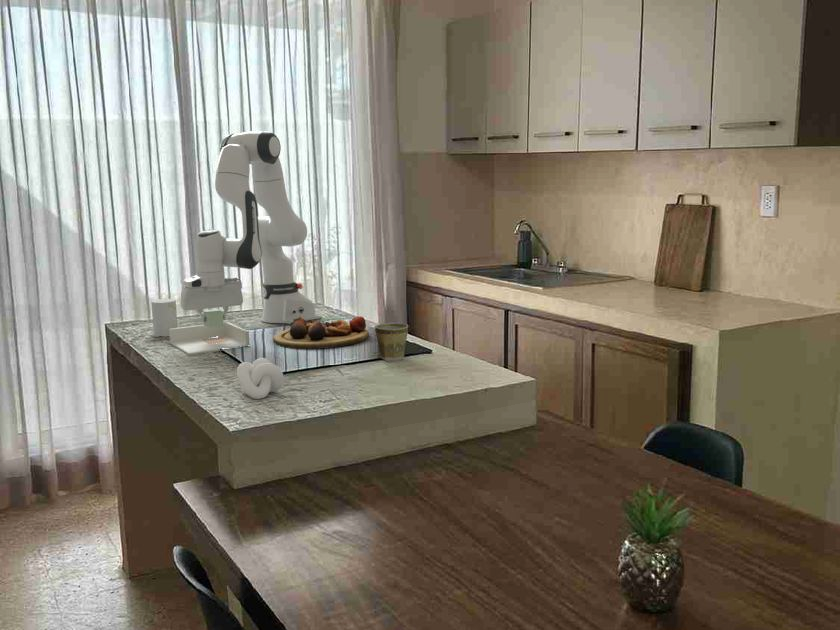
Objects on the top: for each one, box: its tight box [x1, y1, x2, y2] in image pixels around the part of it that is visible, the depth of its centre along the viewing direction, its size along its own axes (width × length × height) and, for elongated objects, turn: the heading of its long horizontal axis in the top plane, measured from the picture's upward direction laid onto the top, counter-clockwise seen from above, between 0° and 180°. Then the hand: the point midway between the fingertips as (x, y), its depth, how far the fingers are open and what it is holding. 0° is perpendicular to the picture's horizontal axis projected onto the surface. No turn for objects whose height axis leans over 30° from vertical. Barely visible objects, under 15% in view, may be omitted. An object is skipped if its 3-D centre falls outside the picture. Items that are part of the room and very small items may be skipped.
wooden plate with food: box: [272, 315, 370, 350], centre depth 276 cm, size 32×32×8 cm
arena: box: [169, 321, 251, 356], centre depth 270 cm, size 20×20×5 cm
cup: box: [150, 298, 179, 337], centre depth 287 cm, size 8×8×12 cm
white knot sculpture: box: [236, 357, 285, 400], centre depth 210 cm, size 11×12×9 cm
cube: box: [202, 308, 224, 328], centre depth 273 cm, size 5×5×5 cm
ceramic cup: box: [374, 322, 409, 362], centre depth 248 cm, size 13×10×10 cm
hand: (213, 321), depth 273 cm, fingers closed on cube, 5 cm apart
